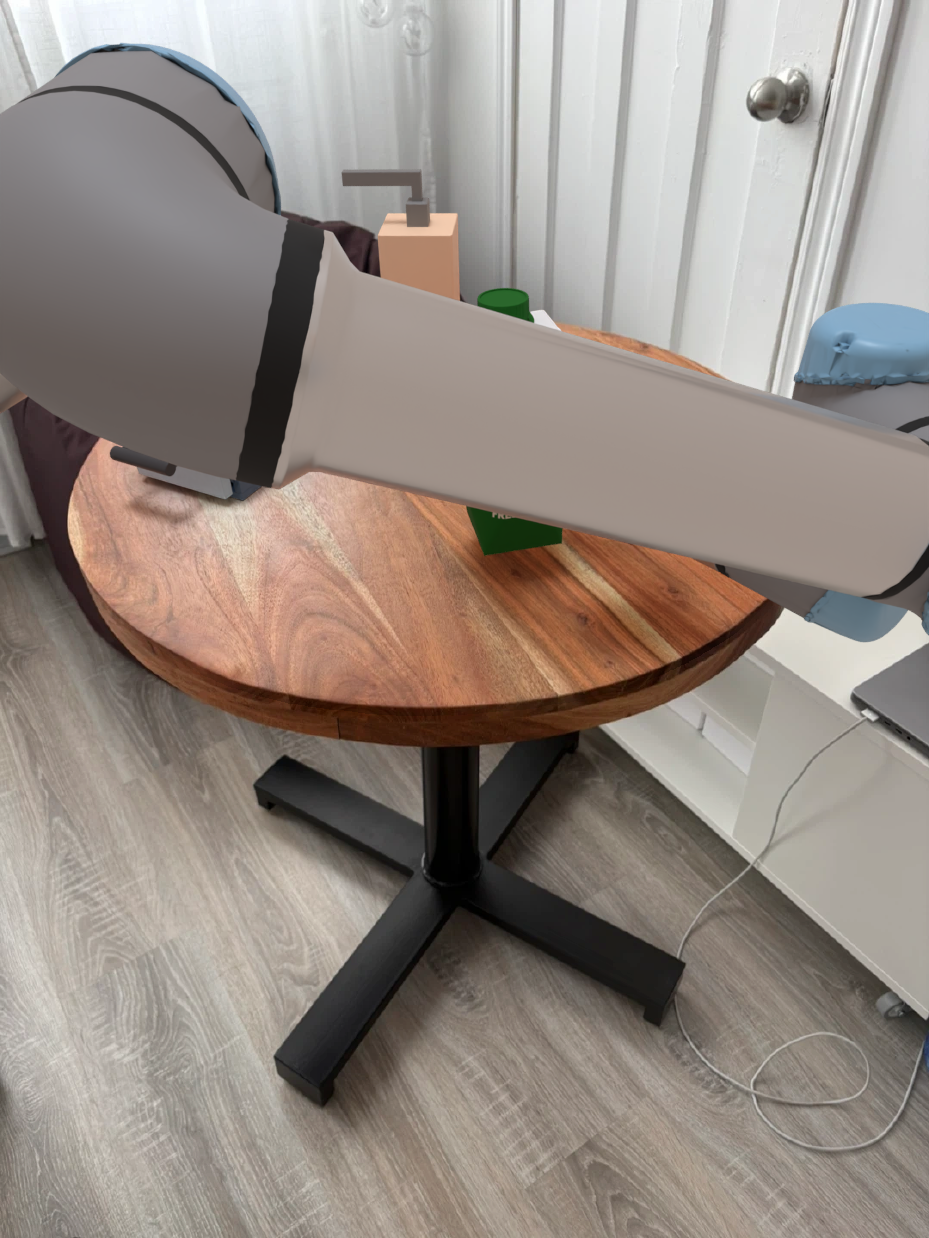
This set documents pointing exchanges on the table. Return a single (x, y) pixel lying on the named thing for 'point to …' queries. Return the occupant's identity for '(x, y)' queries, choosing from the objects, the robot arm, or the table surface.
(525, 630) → the table surface
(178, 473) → the drawer
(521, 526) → the milk carton
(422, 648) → the table surface
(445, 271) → the soap dispenser
